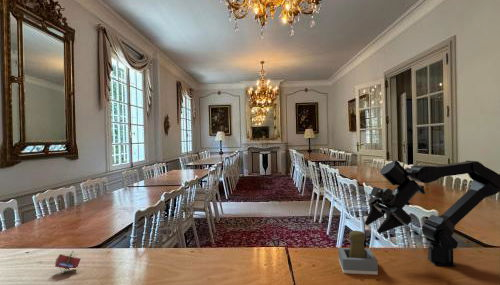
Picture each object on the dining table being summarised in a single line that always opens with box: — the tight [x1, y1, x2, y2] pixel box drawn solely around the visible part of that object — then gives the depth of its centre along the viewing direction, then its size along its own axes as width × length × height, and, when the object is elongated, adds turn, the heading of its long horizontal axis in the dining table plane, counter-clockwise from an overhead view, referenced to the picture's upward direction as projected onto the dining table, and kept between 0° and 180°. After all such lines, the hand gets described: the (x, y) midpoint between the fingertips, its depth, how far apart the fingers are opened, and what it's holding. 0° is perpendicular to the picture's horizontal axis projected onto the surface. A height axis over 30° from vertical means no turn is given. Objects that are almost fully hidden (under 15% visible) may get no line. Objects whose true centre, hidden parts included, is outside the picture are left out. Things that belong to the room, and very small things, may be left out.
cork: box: [348, 230, 366, 258], centre depth 103 cm, size 6×6×11 cm
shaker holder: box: [338, 247, 379, 275], centre depth 103 cm, size 11×11×4 cm
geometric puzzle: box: [54, 250, 81, 273], centre depth 105 cm, size 7×7×8 cm
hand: (371, 228), depth 103 cm, fingers open, 9 cm apart
